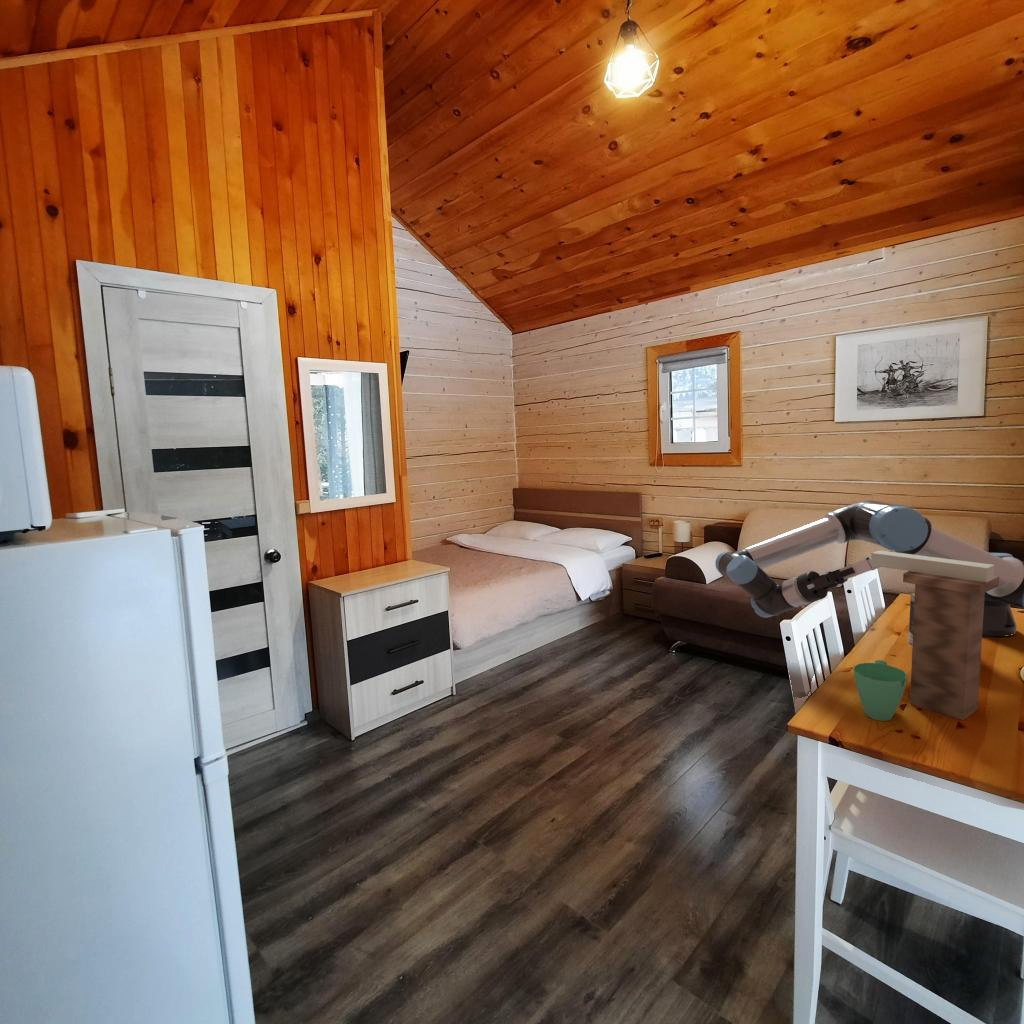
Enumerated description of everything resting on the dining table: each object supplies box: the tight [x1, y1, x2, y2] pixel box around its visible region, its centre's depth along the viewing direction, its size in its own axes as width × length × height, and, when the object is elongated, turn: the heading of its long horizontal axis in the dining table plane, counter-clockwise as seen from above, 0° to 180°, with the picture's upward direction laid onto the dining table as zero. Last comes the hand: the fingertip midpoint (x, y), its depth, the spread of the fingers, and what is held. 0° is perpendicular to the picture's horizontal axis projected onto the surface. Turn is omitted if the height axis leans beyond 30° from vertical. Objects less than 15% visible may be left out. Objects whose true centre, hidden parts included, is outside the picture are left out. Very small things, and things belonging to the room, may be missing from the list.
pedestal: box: [902, 571, 999, 721], centre depth 126 cm, size 14×10×30 cm
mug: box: [853, 659, 909, 722], centre depth 127 cm, size 15×10×10 cm
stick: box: [870, 549, 995, 582], centre depth 128 cm, size 22×4×3 cm, turn 34°
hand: (882, 559), depth 135 cm, fingers open, 13 cm apart
